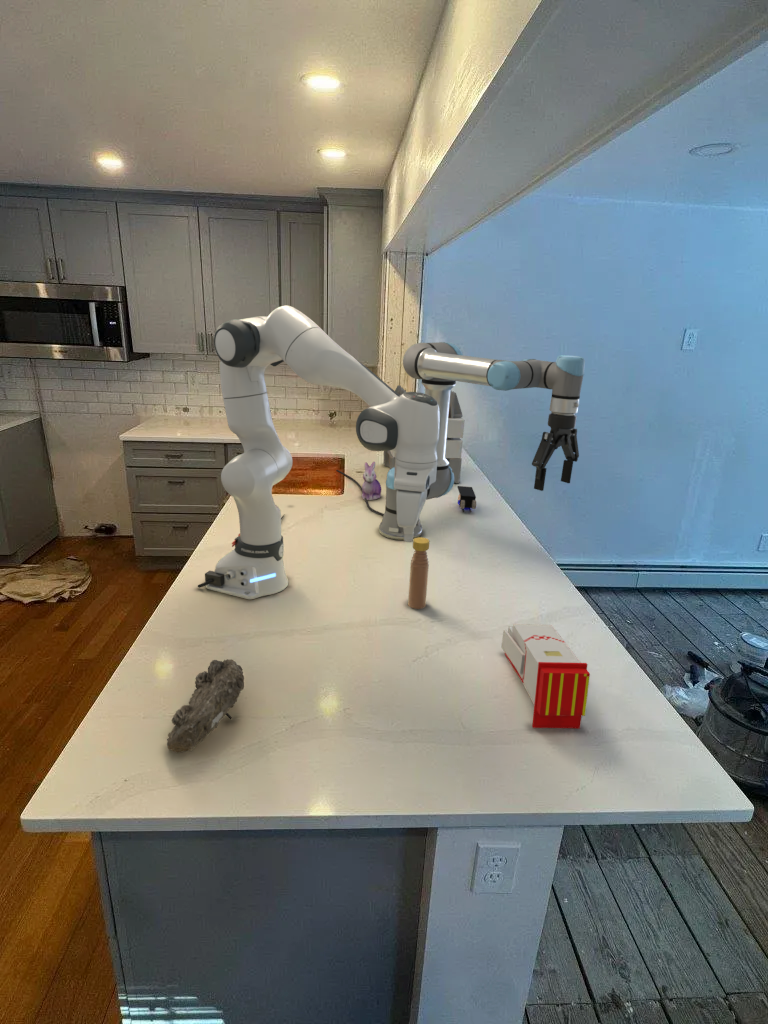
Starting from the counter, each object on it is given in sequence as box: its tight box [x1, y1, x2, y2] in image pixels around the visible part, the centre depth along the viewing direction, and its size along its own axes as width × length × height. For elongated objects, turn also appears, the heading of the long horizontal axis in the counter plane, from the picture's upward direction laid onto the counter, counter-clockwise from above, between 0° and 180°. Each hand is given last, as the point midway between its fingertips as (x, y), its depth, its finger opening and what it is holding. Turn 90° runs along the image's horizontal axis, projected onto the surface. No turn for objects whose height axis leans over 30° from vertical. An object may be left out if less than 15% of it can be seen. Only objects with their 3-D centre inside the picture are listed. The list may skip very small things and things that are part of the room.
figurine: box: [361, 461, 382, 501], centre depth 234 cm, size 9×10×15 cm
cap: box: [412, 536, 430, 552], centre depth 147 cm, size 4×4×2 cm
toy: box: [501, 623, 591, 729], centre depth 120 cm, size 12×13×30 cm
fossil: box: [166, 658, 245, 754], centre depth 106 cm, size 22×10×15 cm
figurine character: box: [457, 485, 477, 514], centre depth 227 cm, size 7×8×15 cm
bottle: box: [407, 549, 430, 610], centre depth 150 cm, size 5×5×18 cm
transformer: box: [383, 384, 465, 484], centre depth 268 cm, size 34×33×41 cm
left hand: (411, 532), depth 124 cm, fingers open, 8 cm apart
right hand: (552, 485), depth 166 cm, fingers open, 13 cm apart
